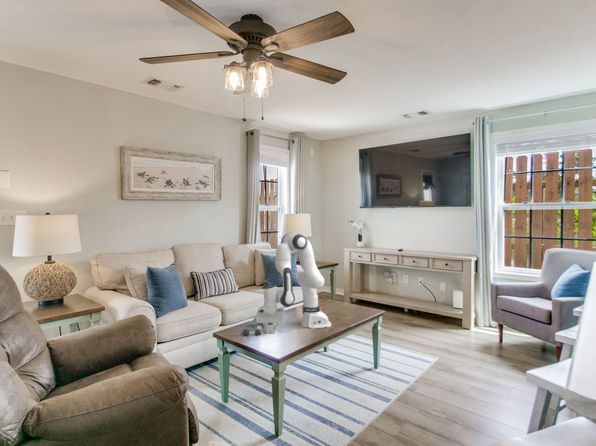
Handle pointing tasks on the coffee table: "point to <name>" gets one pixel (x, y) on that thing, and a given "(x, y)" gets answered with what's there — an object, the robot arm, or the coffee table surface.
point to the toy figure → (258, 323)
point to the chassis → (252, 330)
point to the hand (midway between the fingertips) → (270, 328)
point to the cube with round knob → (270, 328)
